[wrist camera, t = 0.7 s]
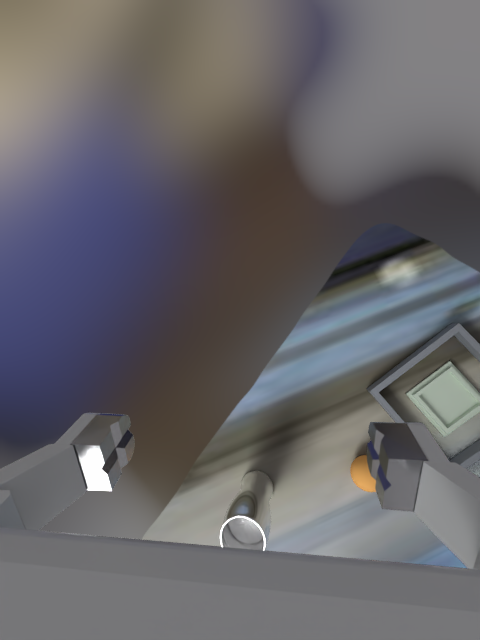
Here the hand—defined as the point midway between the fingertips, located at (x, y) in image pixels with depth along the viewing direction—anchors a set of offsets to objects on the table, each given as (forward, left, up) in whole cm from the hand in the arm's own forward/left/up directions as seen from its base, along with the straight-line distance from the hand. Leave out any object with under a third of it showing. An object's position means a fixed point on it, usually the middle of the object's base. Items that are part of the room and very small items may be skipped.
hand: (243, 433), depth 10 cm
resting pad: (-22, -16, -47) cm, 55 cm away
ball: (-23, +2, -45) cm, 50 cm away
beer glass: (-15, +20, -48) cm, 54 cm away
